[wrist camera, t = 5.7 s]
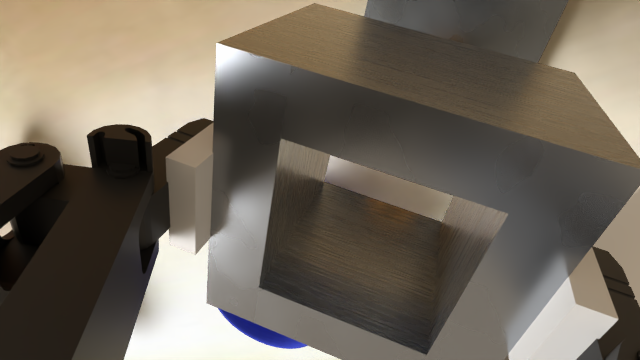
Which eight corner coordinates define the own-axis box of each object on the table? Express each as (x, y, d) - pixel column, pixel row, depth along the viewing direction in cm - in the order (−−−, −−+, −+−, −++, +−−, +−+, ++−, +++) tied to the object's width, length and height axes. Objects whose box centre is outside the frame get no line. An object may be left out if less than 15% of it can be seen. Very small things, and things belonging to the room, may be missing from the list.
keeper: (413, -191, 19) (366, -277, 11) (638, -155, 17) (782, -223, 9) (345, 111, 28) (292, 188, 20) (488, 154, 27) (493, 257, 18)
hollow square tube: (314, 3, 13) (216, 43, 8) (574, 72, 11) (650, 172, 7) (282, 199, 17) (206, 303, 12) (467, 266, 16) (464, 410, 11)
